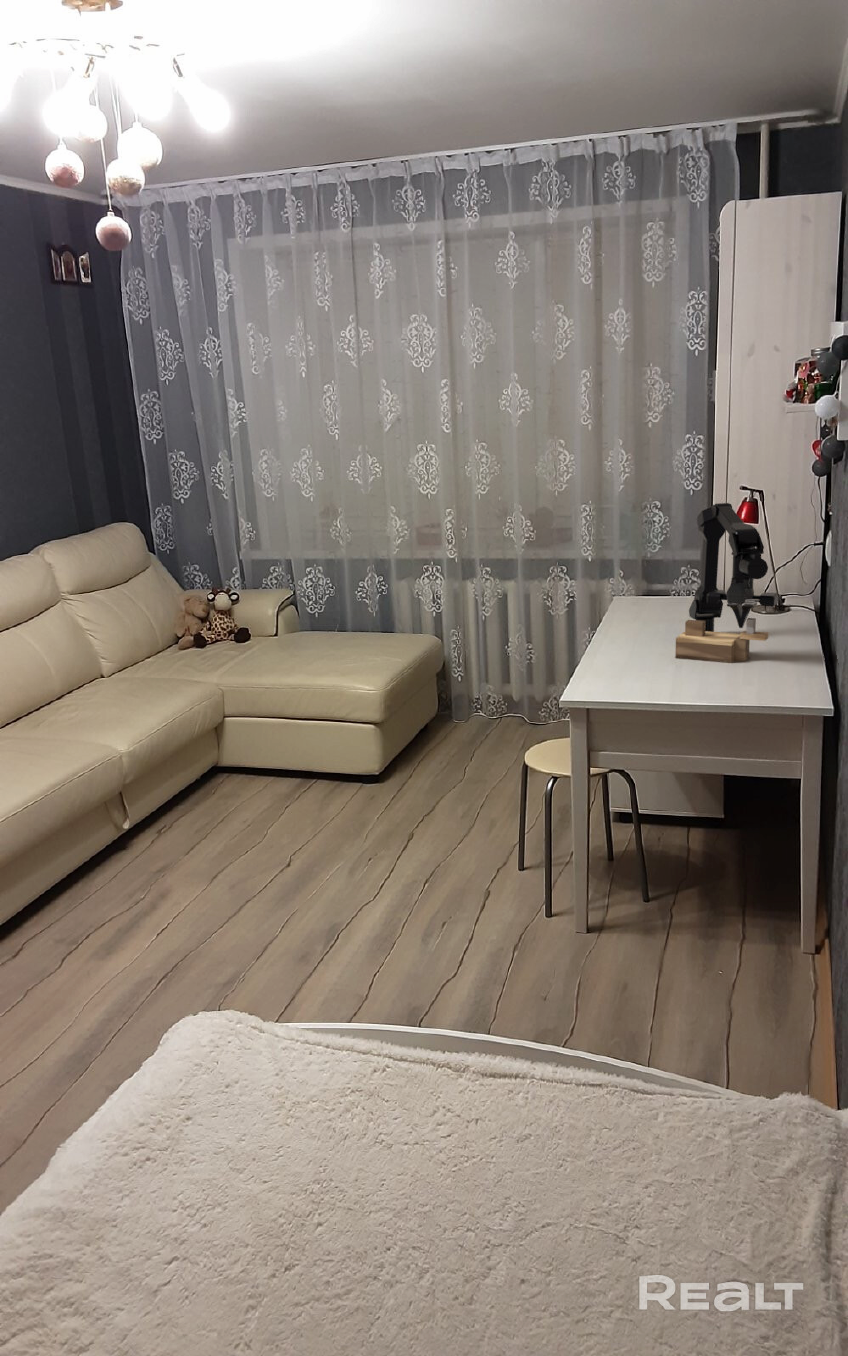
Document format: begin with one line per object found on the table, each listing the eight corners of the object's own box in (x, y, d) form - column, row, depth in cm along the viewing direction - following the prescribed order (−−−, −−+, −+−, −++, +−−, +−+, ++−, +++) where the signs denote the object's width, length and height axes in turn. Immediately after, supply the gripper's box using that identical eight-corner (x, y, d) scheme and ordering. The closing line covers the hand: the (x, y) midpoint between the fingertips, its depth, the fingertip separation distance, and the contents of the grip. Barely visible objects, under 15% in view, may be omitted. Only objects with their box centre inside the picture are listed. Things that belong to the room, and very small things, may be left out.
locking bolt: (743, 635, 302) (744, 617, 300) (768, 637, 298) (769, 618, 297) (739, 638, 298) (740, 619, 297) (765, 640, 295) (765, 621, 293)
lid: (687, 633, 313) (687, 616, 312) (741, 637, 305) (742, 620, 304) (675, 641, 304) (676, 624, 303) (731, 645, 296) (732, 628, 295)
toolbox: (686, 649, 315) (687, 629, 313) (751, 654, 305) (752, 634, 304) (675, 658, 306) (675, 637, 304) (741, 663, 296) (742, 643, 295)
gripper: (701, 576, 293) (700, 631, 297) (770, 579, 284) (768, 636, 288) (712, 570, 302) (711, 623, 306) (779, 573, 293) (777, 627, 297)
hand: (741, 627), depth 299 cm, fingers closed
